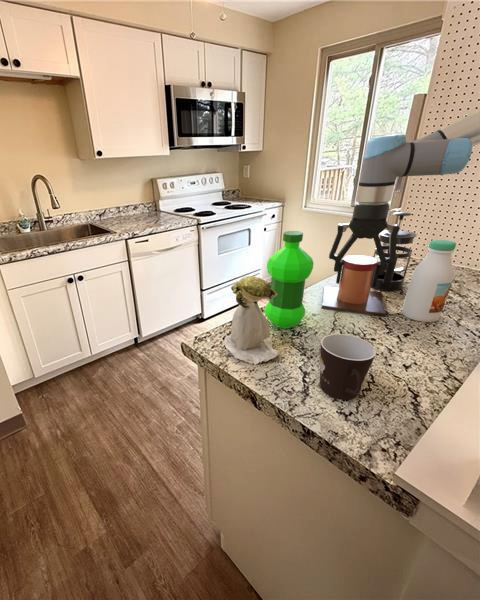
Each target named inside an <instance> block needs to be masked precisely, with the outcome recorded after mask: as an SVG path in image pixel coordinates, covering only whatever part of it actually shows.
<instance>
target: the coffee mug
mask: <svg viewBox="0 0 480 600" xmlns="http://www.w3.org/2000/svg"><path fill="white" fill-rule="evenodd" d="M319 355H320V356H319V388H320V389H321V391H322V392H323V393H324V394H326V395H327V396H329V397H330V398H332V399H335V400H340V401H351V400H354V399H356V398H357V396H358V395H359V394H360V392H361V390H362V386H363V384H364V381H365V379H366V377H367V375H368V373H369V370H370V368H371V366H372V364H373V362H374V359H375V357H376V356H377V349H376V348H375V346H374V345H373V344H372V343H370V342H369V341H367V340H365V339H363V338H361V337H358V336H356V335H351V334H345V333H331V334H327V335H325V336H323V337H322V338H321V339H320V353H319Z"/></svg>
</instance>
